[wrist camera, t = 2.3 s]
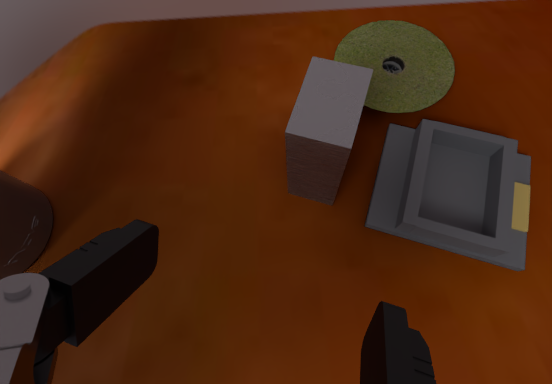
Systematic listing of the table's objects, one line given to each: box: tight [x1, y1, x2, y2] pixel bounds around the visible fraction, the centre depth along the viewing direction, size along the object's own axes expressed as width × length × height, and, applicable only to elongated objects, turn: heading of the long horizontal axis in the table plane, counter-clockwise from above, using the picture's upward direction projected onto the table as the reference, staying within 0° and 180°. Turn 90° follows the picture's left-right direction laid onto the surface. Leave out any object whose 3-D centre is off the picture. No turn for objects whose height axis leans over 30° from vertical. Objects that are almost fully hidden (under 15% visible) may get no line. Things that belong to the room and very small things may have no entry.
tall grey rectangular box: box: [285, 57, 373, 206], centre depth 24 cm, size 4×6×10 cm, turn 162°
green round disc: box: [334, 20, 455, 113], centre depth 31 cm, size 11×11×2 cm
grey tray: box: [365, 119, 531, 271], centre depth 26 cm, size 12×10×3 cm
